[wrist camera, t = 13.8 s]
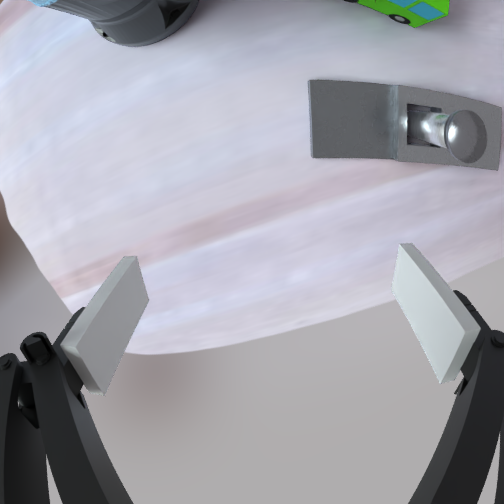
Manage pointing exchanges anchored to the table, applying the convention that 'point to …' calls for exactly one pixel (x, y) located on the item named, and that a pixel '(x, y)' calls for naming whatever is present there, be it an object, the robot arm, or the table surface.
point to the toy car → (409, 9)
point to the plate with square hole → (388, 122)
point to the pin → (450, 132)
